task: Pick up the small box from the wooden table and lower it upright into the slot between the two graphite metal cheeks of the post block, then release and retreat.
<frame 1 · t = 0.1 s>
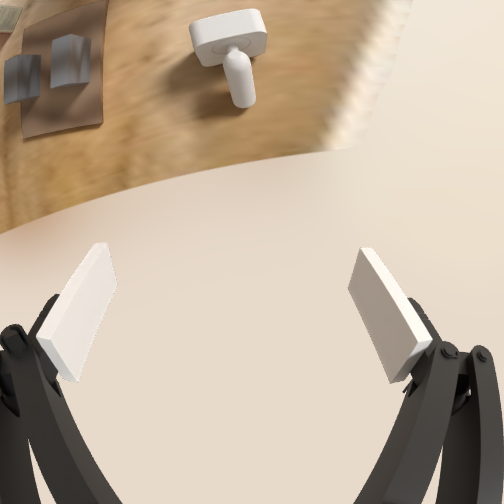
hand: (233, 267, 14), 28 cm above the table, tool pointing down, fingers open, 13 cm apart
slotted post block: (59, 69, 28), on the table
wall hook: (235, 66, 32), on the table
small box: (11, 20, 20), on the table
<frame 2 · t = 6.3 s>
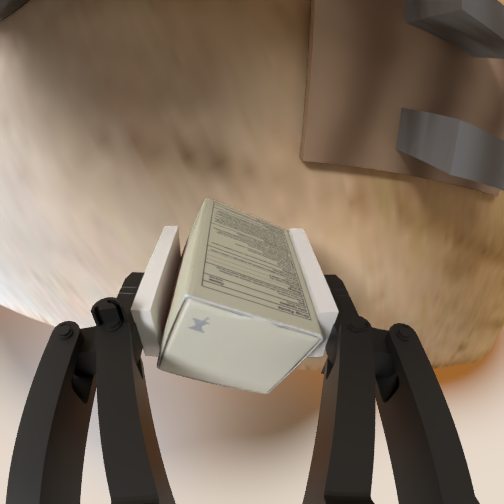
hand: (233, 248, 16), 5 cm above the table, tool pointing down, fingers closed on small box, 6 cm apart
slotted post block: (434, 78, 14), on the table
small box: (233, 242, 16), point 4 cm above the table, touching gripper
when the fingers open (2 cm above the table, at t = 11.4 s): small box stays where it is, resting on slotted post block.
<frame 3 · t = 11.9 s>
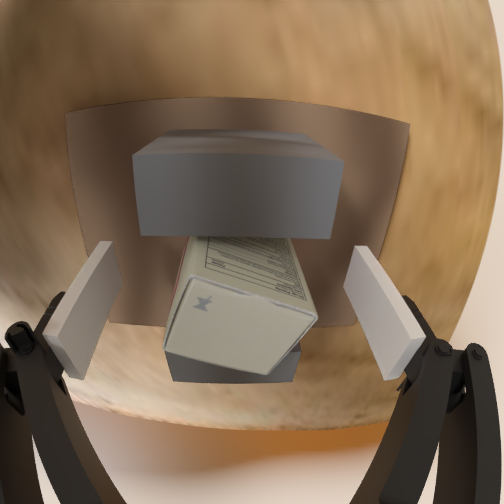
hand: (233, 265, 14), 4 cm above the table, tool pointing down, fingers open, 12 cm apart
slotted post block: (233, 228, 18), on the table
small box: (233, 233, 17), point 1 cm above the table, touching slotted post block
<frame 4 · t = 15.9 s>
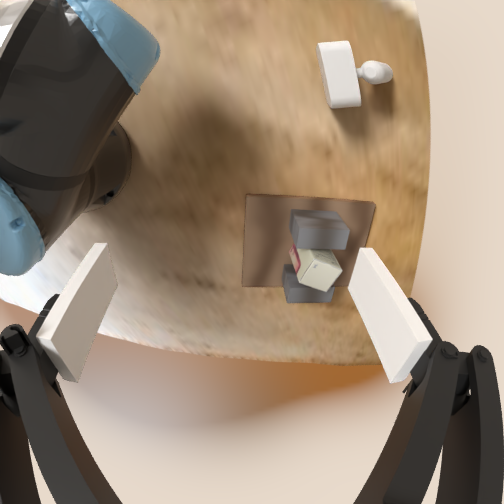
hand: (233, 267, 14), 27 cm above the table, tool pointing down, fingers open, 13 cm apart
slotted post block: (306, 243, 45), on the table
wall hook: (348, 73, 31), on the table
small box: (307, 246, 44), point 1 cm above the table, touching slotted post block
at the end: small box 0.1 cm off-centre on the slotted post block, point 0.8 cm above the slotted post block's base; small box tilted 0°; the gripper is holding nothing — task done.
